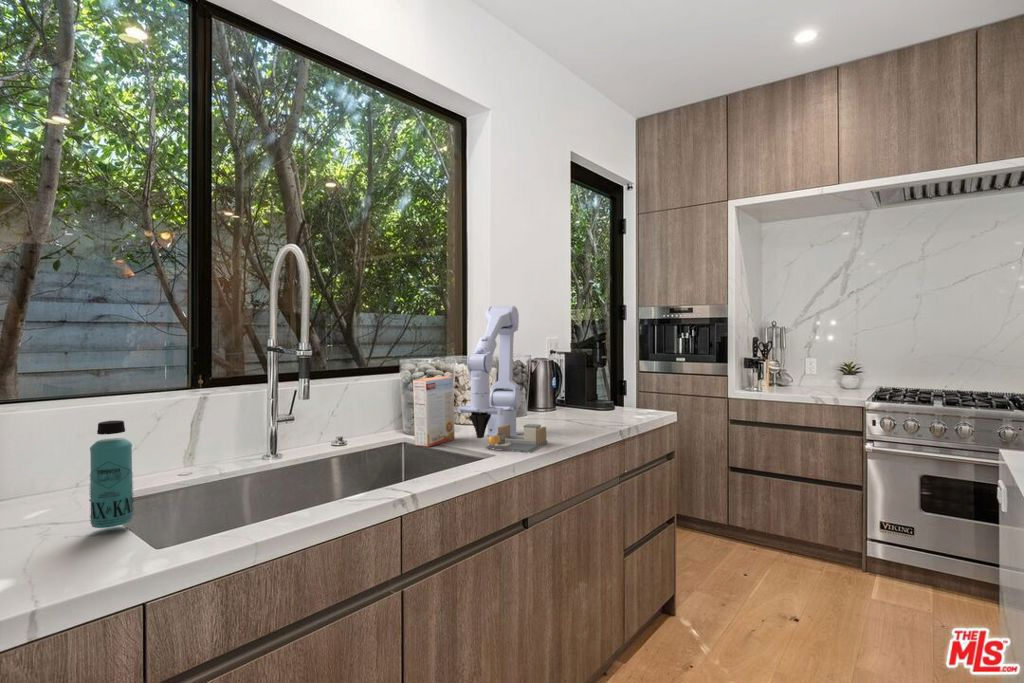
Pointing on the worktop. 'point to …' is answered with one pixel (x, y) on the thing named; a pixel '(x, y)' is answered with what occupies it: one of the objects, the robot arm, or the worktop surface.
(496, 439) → the gauge lever
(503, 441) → the gauge dial
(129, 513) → the beverage bottle
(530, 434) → the beige block
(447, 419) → the cracker box
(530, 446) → the rail board
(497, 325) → the robot arm
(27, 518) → the worktop surface
